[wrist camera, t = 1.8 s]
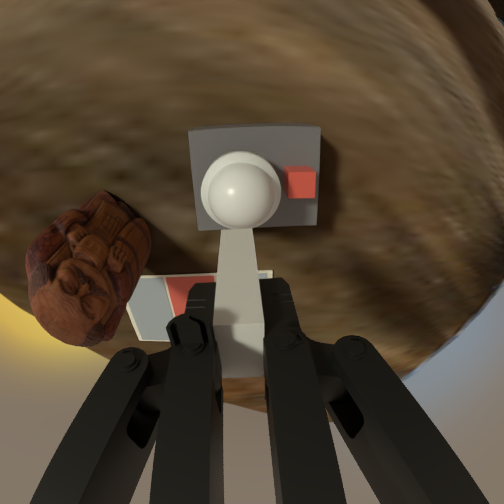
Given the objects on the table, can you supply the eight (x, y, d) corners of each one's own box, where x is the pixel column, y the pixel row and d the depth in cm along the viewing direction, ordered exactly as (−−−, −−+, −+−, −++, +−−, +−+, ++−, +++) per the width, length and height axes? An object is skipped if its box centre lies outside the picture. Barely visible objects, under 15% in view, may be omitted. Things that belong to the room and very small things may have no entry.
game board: (272, 269, 37) (272, 271, 36) (271, 337, 43) (271, 338, 43) (115, 276, 36) (115, 277, 36) (139, 339, 43) (139, 340, 42)
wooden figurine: (169, 241, 34) (125, 353, 18) (141, 269, 36) (94, 377, 20) (101, 178, 29) (6, 253, 14) (77, 213, 31) (-6, 296, 16)
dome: (277, 148, 22) (287, 160, 18) (277, 217, 26) (286, 245, 21) (201, 152, 22) (190, 165, 18) (207, 220, 26) (200, 249, 21)
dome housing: (307, 123, 28) (328, 129, 21) (305, 207, 33) (322, 235, 26) (196, 127, 27) (183, 134, 21) (203, 212, 32) (195, 241, 26)
